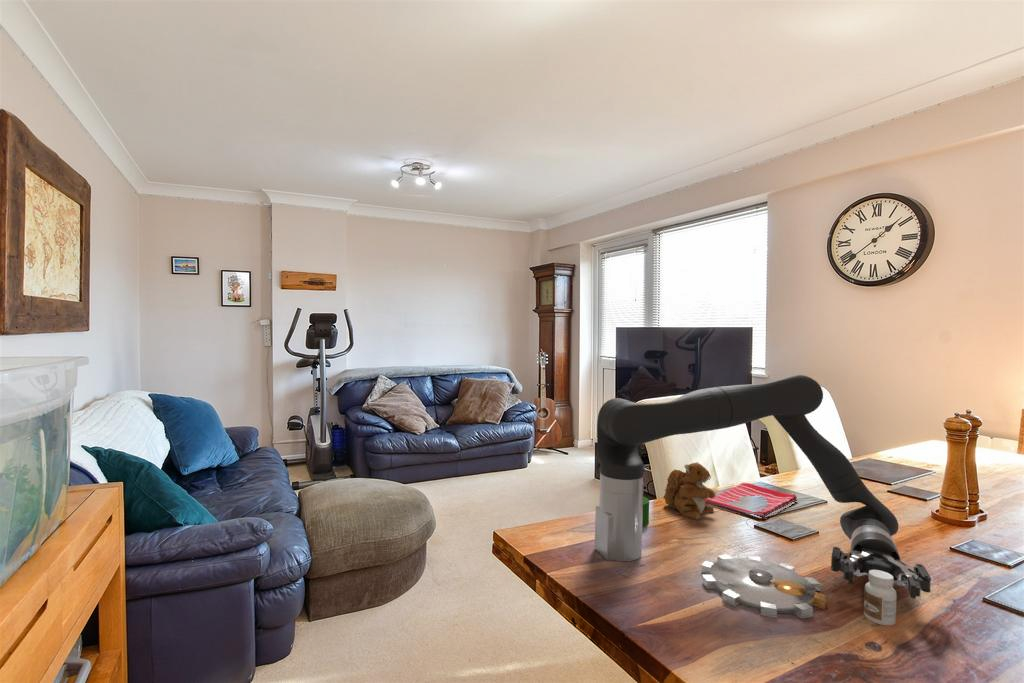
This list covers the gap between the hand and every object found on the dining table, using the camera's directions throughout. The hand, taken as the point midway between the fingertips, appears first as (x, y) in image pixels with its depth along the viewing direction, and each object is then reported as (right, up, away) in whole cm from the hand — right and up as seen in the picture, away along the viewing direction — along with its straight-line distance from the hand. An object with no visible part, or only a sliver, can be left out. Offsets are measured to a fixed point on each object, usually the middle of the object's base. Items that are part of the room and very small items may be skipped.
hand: (881, 585), depth 86 cm
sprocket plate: (-15, -6, +12) cm, 20 cm away
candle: (-32, -5, +44) cm, 54 cm away
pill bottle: (+1, -7, +2) cm, 7 cm away
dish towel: (+6, -6, +59) cm, 60 cm away
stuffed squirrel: (-15, -5, +53) cm, 55 cm away
